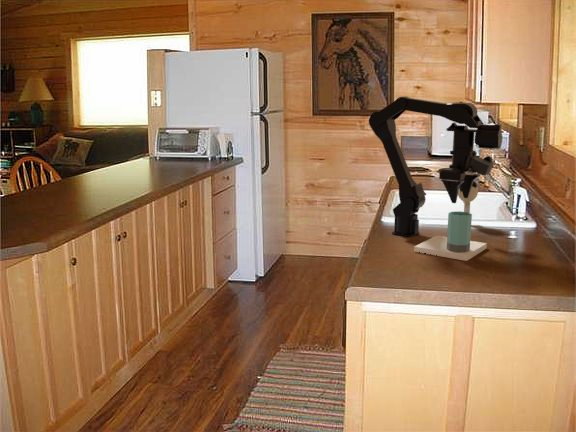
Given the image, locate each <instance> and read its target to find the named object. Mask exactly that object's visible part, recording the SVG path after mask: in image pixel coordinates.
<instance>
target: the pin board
mask: <svg viewBox="0 0 576 432" xmlns="http://www.w3.org/2000/svg"><path fill="white" fill-rule="evenodd" d="M487 244H488V243H487V242H480V241H474V240H470V251H468V252H461V253H457V252H452V251H449V250H447V236H443V235H442V236H441V235H435V236H433V237H431V238H429V239H426V240H424V241H422V242H421V243H419V244H417V245H414V247H413V248H414V250H413V251H414V253H419V252H420V253H419V254H424V253H426V254H425V255H430V254H431V256H436V255H437V257H442V258H449V259H454V260H459V261H463V262H464V261H466V262H467V261H469V260H470V259H472V258H474V257H475V256H477V255H479V254H480V253H482V252H483V251H485V250H486V249H487V247H488V246H487Z"/></svg>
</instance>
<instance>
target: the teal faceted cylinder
mask: <svg viewBox="0 0 576 432" xmlns="http://www.w3.org/2000/svg"><path fill="white" fill-rule="evenodd" d="M447 217H448V218H447V233H446V235H447V236H446V237H447V250H449V251H452V252H457V253H461V252H468V251H470V241H471V235H472V234H471V233H472V221H473V220H472V218H473V214H472V213H471V212H470V213H468V212H464V211H450V212H448V216H447Z"/></svg>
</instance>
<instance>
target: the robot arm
mask: <svg viewBox="0 0 576 432" xmlns="http://www.w3.org/2000/svg"><path fill="white" fill-rule="evenodd" d="M407 111H408V112H412V113H419V114H420V113H421V114H426V115H430V116H431V115H432V116H438V117H441V118H444V119H446V120H449V121H452V123H451V124H450V126H448V127H447V128H446V131H447V132H453V140H452V150H450V152H449V155H452V157H451V159H452V160H451V164H449V166H448V167H446V168H443V169H441V170H440V171H439V176H438V177H439V178H438V179H439V180H440V181H441V182H442V183H443V186H444V188H445V190H446V193H447V194H448V197H449V199H450V202H451V203H452V204H457V202H458V201H457V200H458V197H459V196H458V191H459V186H460V185H461V188H462V193H463V196H464V198H468V196H469V193H470V190H471V188H472V185H473V182H474V181H475V180H476V179H478V178H479V177H480V176H481V175H482V176H487V175H490V173H491V171H492V169H494V164H495V163H494V162H493V156H492V157H491V156H489V155H485V157H479V156H477V150H474V146H475V145H476V146H477V147H478V149H491V150H492V149H493V150H494V149H495V150H500V149H501V147H502V143H503V138H504V137H503V131H502V124H500V123H497V124H496V123H495V124H484V122H483V121H482V118H481V117H480V116H479V115H478V109H477V107H476V105H475V104H474V103H471V102H451V103H450V102H447V103H446V102H440V101H434V100H426V99H420V98H413V97H409V96H399V97H397V98H396V99H395V100H394V101H393V102H391V103H390V104H388V105H387V106H385V107H383V108H382V109H381V110H377V111H373V112H372V113H371V114H370V116H369V118H368V124H369V127H370V128H371V130H372V131H373V133H374V135H375V136H376V137H377V138H378V139H379V141H380V142H381V143H382V146H383V149H384V151H385V153H386V156H387V158H388V161H389V163H390V166H391V169H392V171H393V174H394V176H395V179H396V182H397V184H398V185H397V186H398V197H399V203H398V204H397V205H396V206H395V207H394V208H392V213H393V215H394V228H393V229H394V230H393V231H391V234H392V235H396V236H402V237H410V238H412V237H413V236H415V235H418V234H420V231H419V224H420V220H419V218H418V214H417V213H418V212H419V210H420V209H421V208H422V207H424V205H425V203H426V196H427V193H426V192H425V190H424V188H423V184H422V182H419V183H417V182H415V180H414V179H413V177H412V174H411V171H410V169H409V166H408V164H407V161H406V158H405V156H404V153H403V151H402V148H401V146H400V144H399V141H398V137H397V127H396V126H397V125H396V119H398V118H399V117H400V116H401V115H403V114H404V113H405V112H407ZM458 124H459V125H458ZM474 144H475V145H474Z"/></svg>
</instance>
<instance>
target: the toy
mask: <svg viewBox="0 0 576 432" xmlns="http://www.w3.org/2000/svg"><path fill="white" fill-rule="evenodd" d="M478 195H479V186H478V184H477V182H476V181H475V180H474V182H473V185H472V188H471V190H470V193H469V196H468V198H464V196H463V193H462V188H461V185H460V186H459V191H458V197H459V198H458V199H460V201H462V203H463V212H468V213H470V214H471V211H470V210H471V202H473V201H474V200H475V199H476V198H477V197H478Z"/></svg>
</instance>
